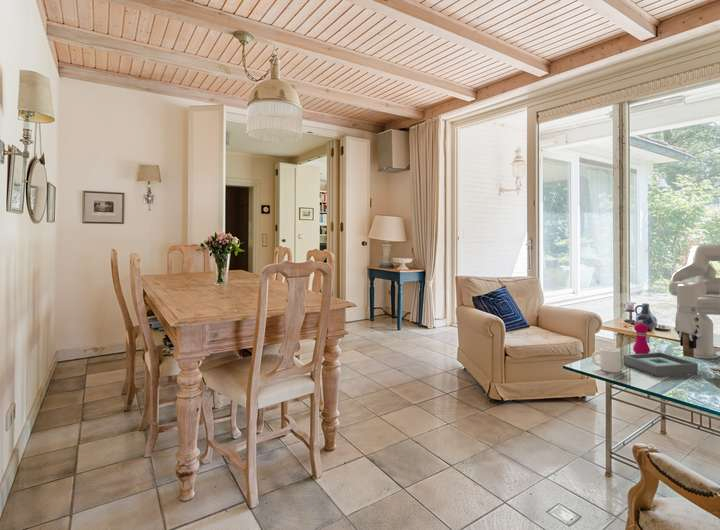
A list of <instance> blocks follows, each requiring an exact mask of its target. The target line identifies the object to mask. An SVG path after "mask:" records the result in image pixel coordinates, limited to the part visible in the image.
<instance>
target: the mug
mask: <svg viewBox="0 0 720 530" xmlns="http://www.w3.org/2000/svg"><path fill="white" fill-rule="evenodd" d="M597 355H600V357H599V359H600V362H598V361H596V356H597ZM591 361H592V362H593V364H594V365H595V366H597V367H598V366H599V367H600V369H602V370H601V371H603V372H605V371H606V373H610V372H611V373H613V374H614V373H620V372H621V370H622V369H621V366H622V365H621V364H622V363H621V362H622V361H621V349H620V348H616V347H608V346H607V347H605V346H604V347H600V348H599V350H596V351H594V352H593V353H592V354H591ZM611 373H610V374H611Z"/></svg>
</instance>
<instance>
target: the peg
mask: <svg viewBox="0 0 720 530" xmlns="http://www.w3.org/2000/svg"><path fill="white" fill-rule="evenodd" d="M692 336H693V335H692ZM689 340H690V337H689V334H688V333H685V332H683V346H682V355H683V357H684V358H685V357H686V358H695V357H694V348H693V349H690V348H689Z"/></svg>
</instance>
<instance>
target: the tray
mask: <svg viewBox="0 0 720 530" xmlns="http://www.w3.org/2000/svg"><path fill="white" fill-rule="evenodd" d="M623 366H625V367H628V368H631V369H633V370H636V371H638V370H639V372H641V373H643V372H644V374H646V373H647V374H646V375H648V374H649V376H651V375H652V376H651V377H653V378H656V377H657V378H667V376H670V377H678V376H677V375H683V376H689V375H688V374H696V375H699V374H698V373H699V372H698V363H696V362H694V361H690V360H687V359H684V358H680V357H677V356H674V355H671V354H668V353H664V352H662V351H661V352H649V353H645V354H635V353H634V354H633V353H632V354H623Z"/></svg>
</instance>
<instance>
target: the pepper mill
mask: <svg viewBox="0 0 720 530" xmlns="http://www.w3.org/2000/svg"><path fill="white" fill-rule="evenodd" d="M633 327H634V328H633V329H634V331H635V337H636V339H635V342H634V344H633V348H632V349H633V351H634V354H645V353H651V348H650V347H649V344H648V342H647V336H648V331H649V327H648V325H647V324H646V323H644V321H643V320H642V319H640V320H639V321H638V323H635V324H634V325H633Z"/></svg>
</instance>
